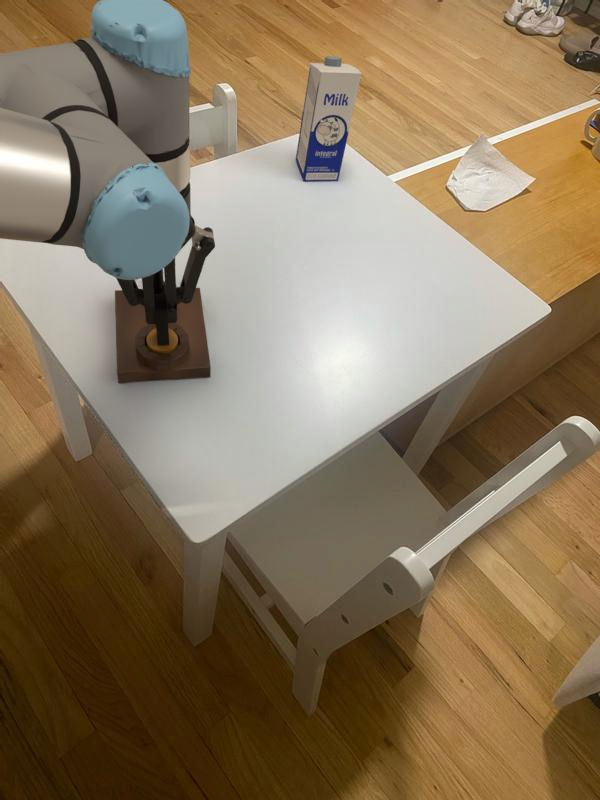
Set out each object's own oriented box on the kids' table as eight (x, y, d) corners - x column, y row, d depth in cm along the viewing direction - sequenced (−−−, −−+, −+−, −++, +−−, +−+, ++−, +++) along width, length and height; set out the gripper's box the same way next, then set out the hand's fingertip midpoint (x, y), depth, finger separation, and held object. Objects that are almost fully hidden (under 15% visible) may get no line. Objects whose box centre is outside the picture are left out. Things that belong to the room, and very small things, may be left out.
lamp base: (118, 383, 79) (115, 364, 76) (116, 301, 87) (113, 280, 84) (210, 377, 82) (211, 358, 78) (199, 298, 90) (199, 278, 87)
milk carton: (302, 181, 111) (320, 70, 95) (294, 160, 114) (310, 50, 98) (338, 181, 112) (363, 72, 96) (330, 159, 116) (351, 51, 100)
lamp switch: (148, 359, 78) (147, 351, 77) (146, 336, 81) (145, 328, 79) (179, 358, 79) (178, 349, 78) (176, 335, 82) (176, 326, 80)
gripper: (213, 157, 63) (209, 314, 82) (83, 156, 60) (110, 318, 79) (222, 203, 59) (216, 356, 78) (82, 203, 56) (111, 362, 75)
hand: (162, 337), depth 78 cm, fingers closed
